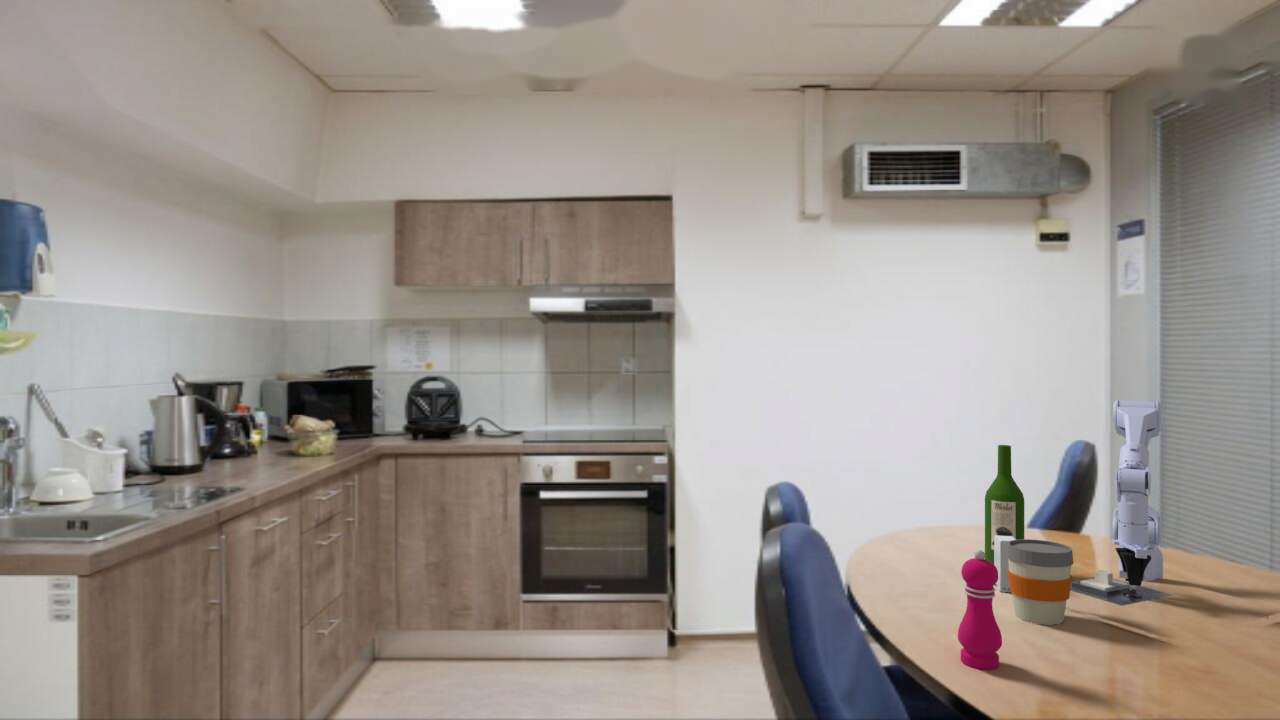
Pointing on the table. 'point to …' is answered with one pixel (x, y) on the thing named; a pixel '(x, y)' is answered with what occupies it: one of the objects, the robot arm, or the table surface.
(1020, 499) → the wine bottle
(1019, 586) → the reusable coffee cup
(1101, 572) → the cover
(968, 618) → the pepper mill
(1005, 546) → the skincare box
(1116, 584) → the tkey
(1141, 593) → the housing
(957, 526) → the table surface
